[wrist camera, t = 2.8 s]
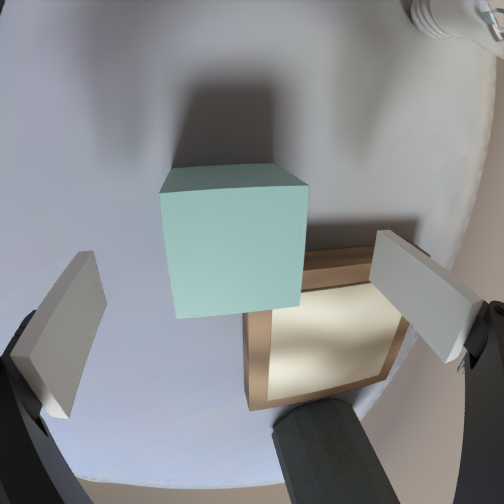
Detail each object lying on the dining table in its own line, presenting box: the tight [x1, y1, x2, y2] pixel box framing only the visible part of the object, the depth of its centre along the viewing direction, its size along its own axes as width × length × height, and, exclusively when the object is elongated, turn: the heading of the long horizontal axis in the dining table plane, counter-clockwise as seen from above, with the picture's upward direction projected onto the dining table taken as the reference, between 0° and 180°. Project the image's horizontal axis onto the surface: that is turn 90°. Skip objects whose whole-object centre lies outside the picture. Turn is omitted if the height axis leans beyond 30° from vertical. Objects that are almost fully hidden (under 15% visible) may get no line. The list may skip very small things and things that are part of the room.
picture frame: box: [243, 242, 431, 411], centre depth 22 cm, size 14×14×3 cm
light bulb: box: [411, 0, 504, 59], centre depth 8 cm, size 7×7×12 cm
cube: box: [159, 163, 309, 319], centre depth 15 cm, size 6×6×6 cm
